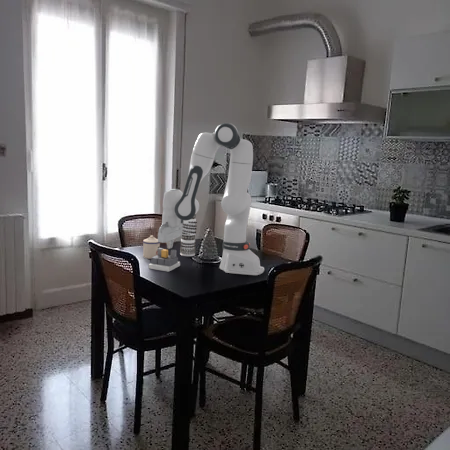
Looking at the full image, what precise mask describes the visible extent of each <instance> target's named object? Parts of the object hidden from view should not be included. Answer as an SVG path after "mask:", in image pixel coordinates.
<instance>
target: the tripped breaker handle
mask: <svg viewBox="0 0 450 450" xmlns="http://www.w3.org/2000/svg"><path fill="white" fill-rule="evenodd" d="M168 256H169V249H167V248H164V249H163V250H161V257H164V258H166V257H168Z"/></svg>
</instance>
